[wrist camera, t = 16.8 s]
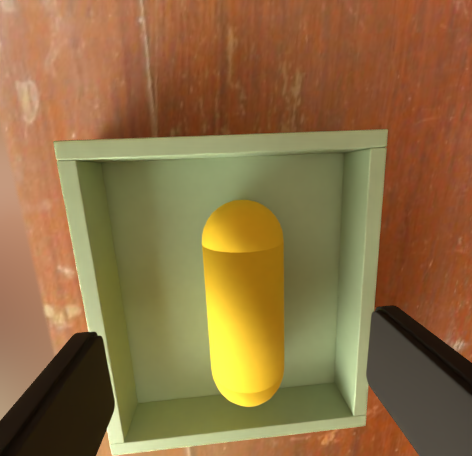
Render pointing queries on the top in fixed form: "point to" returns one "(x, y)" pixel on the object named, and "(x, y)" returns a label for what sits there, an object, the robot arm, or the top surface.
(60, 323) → the top surface
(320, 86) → the top surface
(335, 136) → the tray
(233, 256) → the yellow capsule toy
